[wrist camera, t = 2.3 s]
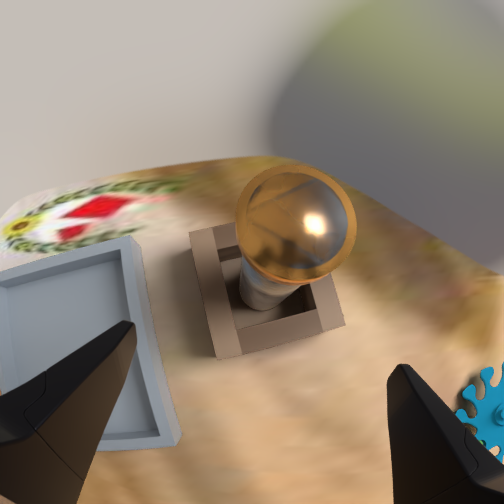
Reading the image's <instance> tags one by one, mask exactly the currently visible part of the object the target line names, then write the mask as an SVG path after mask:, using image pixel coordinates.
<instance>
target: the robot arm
mask: <svg viewBox="0 0 504 504" xmlns="http://www.w3.org/2000/svg"><path fill="white" fill-rule="evenodd" d="M136 346H137V333H136V325H135V323H134V322H131V321H127V320H122V321H120V322H118V323H117V324H115V325H114V326H112V327H111V328H109V329H108V330H106V331H105V332H103V333H101V334H100V335H98V336H97V337H95V338H94V339H92V340H91V341H89V342H88V343H86V344H84V345H83V346H81V347H80V348H78V349H77V350H75V351H74V352H72V353H71V354H69V355H68V356H66V357H64V358H63V359H61V360H60V361H58V362H57V363H55V364H54V365H52V366H51V367H49V368H48V369H47V370H46V371H43V372H42V373H40V374H38V375H37V376H35V377H34V378H32V379H31V380H29V381H27V382H26V383H24V384H22V385H20V386H18V387H17V388H15V389H13V390H11V391H9V392H7V393H5V394H3V395H1V396H0V504H76V503H77V501H78V498H79V495H80V492H81V489H82V487H83V484H84V481H85V478H86V476H87V473H88V470H89V468H90V465H91V462H92V460H93V457H94V455H95V452H96V450H97V447H98V445H99V442H100V440H101V437H102V435H103V433H104V430H105V428H106V425H107V423H108V421H109V418H110V416H111V414H112V411H113V409H114V407H115V404H116V402H117V400H118V397H119V395H120V393H121V391H122V388H123V386H124V384H125V381H126V378H127V374H128V371H129V368H130V365H131V362H132V359H133V355H134V352H135V349H136ZM387 416H388V429H389V438H390V449H391V461H392V476H393V498H394V504H504V465H503V464H502V463H501V462H500V461H499V460H498V459H497V458H496V457H495V456H494V455H493V454H492V453H491V452H490V451H489V450H488V449H487V448H486V447H485V446H484V445H483V444H482V443H481V442H480V441H479V440H478V439H477V438H476V437H475V436H474V435H473V434H472V433H471V432H470V431H469V429H468V428H467V427H465V425H464V424H463V423H462V422H461V420H460V419H459V418H458V417H457V416H456V415H455V414H454V413H453V412H452V410H451V409H450V408H449V407H448V406H447V405H446V404H445V403H444V402H443V401H442V399H441V398H440V397H439V396H438V395H437V394H436V393H435V392H434V391H433V390H432V389H431V387H430V386H429V385H428V384H427V383H426V382H425V381H424V380H423V379H422V378H421V377H420V376H419V375H418V374H417V372H416V371H415V370H414V369H413V368H412V367H411V366H410V365H408V364H398V365H397V366H396V368H395V369H394V370H393V372H392V373H391V375H390V376H389V378H388V380H387Z"/></svg>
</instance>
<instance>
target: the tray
mask: <svg viewBox="0 0 504 504" xmlns="http://www.w3.org/2000/svg"><path fill="white" fill-rule="evenodd" d="M122 320H127V321H131V322H134V323H135V325H136V333H137V346H136V349H135V352H134V355H133V359H132V362H131V365H130V368H129V371H128V374H127V378H126V381H125V384H124V386H123V388H122V391H121V393H120V395H119V397H118V400H117V402H116V404H115V407H114V409H113V411H112V414H111V416H110V418H109V421H108V423H107V425H106V428H105V430H104V433H103V435H102V437H101V440H100V442H99V445H98V447H97V450H96V451H120V450H138V449H151V448H161V447H170V446H176V445H177V443H178V442H179V440H180V438H181V436H182V431H181V428H180V425H179V422H178V419H177V415H176V412H175V408H174V405H173V401H172V398H171V394H170V391H169V387H168V383H167V379H166V375H165V371H164V367H163V363H162V359H161V355H160V351H159V346H158V342H157V337H156V333H155V328H154V323H153V318H152V313H151V308H150V303H149V297H148V292H147V286H146V280H145V274H144V268H143V261H142V254H141V247H140V245H139V244H138V243H137V242H136V241H135V240H134V239H133V238H132V237H131V236H130V235H128V236H124V237H120V238H116V239H112V240H109V241H105V242H101V243H97V244H94V245H90V246H86V247H82V248H79V249H75V250H72V251H68V252H65V253H61V254H58V255H54V256H51V257H47V258H44V259H40V260H37V261H34V262H30V263H27V264H24V265H21V266H17V267H14V268H11V269H8V270H4V271H1V272H0V390H1V394H2V395H3V394H5V393H7V392H9V391H11V390H13V389H15V388H17V387H18V386H20V385H22V384H24V383H26V382H27V381H29V380H31V379H32V378H34V377H35V376H37V375H38V374H40V373H42V372H43V371H46V370H47V369H48V368H49V367H51V366H52V365H54V364H55V363H57V362H58V361H60V360H61V359H63V358H64V357H66V356H68V355H69V354H71V353H72V352H74V351H75V350H77V349H78V348H80V347H81V346H83V345H84V344H86V343H88V342H89V341H91V340H92V339H94V338H95V337H97V336H98V335H100V334H101V333H103V332H105V331H106V330H108V329H109V328H111V327H112V326H114V325H115V324H117V323H118V322H120V321H122Z"/></svg>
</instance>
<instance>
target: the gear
mask: <svg viewBox="0 0 504 504" xmlns="http://www.w3.org/2000/svg"><path fill="white" fill-rule="evenodd" d="M493 374H494V369H493V367H487V368H485V369H483V370H481V373H480V378H481V379H482V381H483V382H484V385H485V397H484V399H482V400H477V399H476V397H475V394H476V388H475V386H474V385H473V384H471V385H469V386H468V387H467V388H466V389H465V390H464V391H463V392H462V396H463V398H464V399H466V400H469V401H470V402H472V403H473V405H474V406H475V409H476V411H477V414H476V416H475V417H474V418H472V419H470V418H468V416H467V414H466V412H465V410H463V409H458V411H457V412H456V414H455V415H456V416H457V417H458V418H459V419H460V420H461V422H462V423H468V424H471V425H472V426H474V427H475V428H476V430H477V432H476V434H475V437H476V438H477V439H478V440H479V441H480V442H481V443H482V444H483V445H484V446H485V447H486V448H487V449H488V450H490V449H491V448H493V447H494V446H498V447H499V448H500V451H499V453H498V455H496V456H495V457H496V458H497V459H498V460H499V461H500V462H501V463H502V460H503V455H504V362H503V364H502V378H501V380H500V382H499V384H498V386H496V387H492V386H491V385H490V379H491V378H492V376H493Z"/></svg>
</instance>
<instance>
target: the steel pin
mask: <svg viewBox="0 0 504 504" xmlns="http://www.w3.org/2000/svg"><path fill="white" fill-rule="evenodd" d="M356 230H357V225H356V216H355V212H354V209H353V206H352V204H351V201H350V199H349V198H348V196H347V195H346V193H345V192H344V190H343V189H342V188H341V187H340V186H339V185H338V184H337V183H336V182H335V181H334V180H333V179H331V178H330V177H329V176H327V175H325V174H324V173H322V172H320V171H318V170H315V169H313V168H310V167H306V166H300V165H282V166H277V167H273V168H270V169H268V170H265V171H264V172H262V173H260V174H258V175H257V176H256V177H254V178H253V179H252V180H251V181H250V182H249V183H248V184H247V186H246V187H245V188H244V190H243V192H242V193H241V195H240V198H239V200H238V204H237V208H236V238H237V243H238V246H239V249H240V251H241V253H242V263H241V274H240V285H239V290H240V295H241V297H242V299H243V301H244V302H245V303H246V304H247V305H248V306H249V307H251V308H253V309H256V310H261V311H265V310H269V309H272V308H274V307H276V306H277V305H278V304H279V303H281V302H282V301H283V300H284V299H285V298H287V297H288V296H289V295H290V294H291V293H293V292H294V291H295V290H296V289H297V288H299V287H300V286H301V285H305V284H310V283H313V282H316V281H318V280H320V279H322V278H323V277H325V276H326V275H328V274H329V273H330V272H332V271H333V270H334V269H336V268H337V267H338V266H339V265H340V264H341V263H342V262H344V260H345V259H346V258H347V256H348V255H349V253H350V251H351V250H352V247H353V245H354V242H355V238H356Z"/></svg>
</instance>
